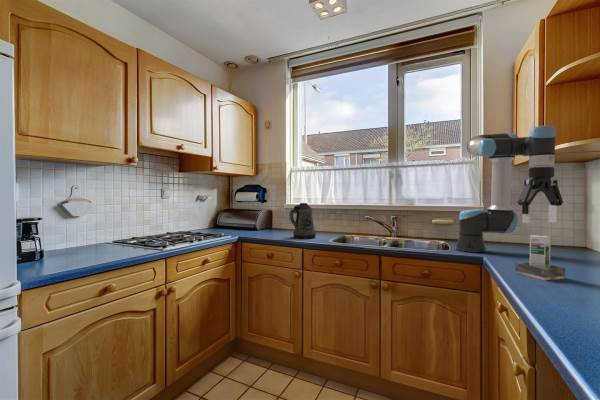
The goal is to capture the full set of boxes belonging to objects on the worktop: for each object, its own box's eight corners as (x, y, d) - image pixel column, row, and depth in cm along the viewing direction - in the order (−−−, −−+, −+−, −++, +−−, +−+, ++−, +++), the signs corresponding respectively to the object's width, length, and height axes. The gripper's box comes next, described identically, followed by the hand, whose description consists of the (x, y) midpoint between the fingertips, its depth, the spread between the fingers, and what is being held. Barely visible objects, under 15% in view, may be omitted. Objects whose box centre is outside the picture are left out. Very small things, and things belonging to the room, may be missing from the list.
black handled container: (319, 237, 211) (320, 203, 211) (306, 240, 194) (306, 203, 194) (300, 235, 220) (301, 202, 219) (286, 238, 203) (286, 203, 203)
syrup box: (528, 272, 110) (529, 235, 110) (531, 270, 114) (532, 234, 114) (548, 275, 106) (549, 236, 106) (550, 273, 110) (551, 235, 110)
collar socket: (535, 271, 117) (535, 261, 117) (565, 278, 106) (565, 267, 106) (515, 272, 114) (515, 262, 114) (544, 280, 104) (544, 269, 104)
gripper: (526, 165, 103) (525, 224, 103) (576, 167, 109) (574, 222, 110) (506, 167, 110) (505, 222, 111) (554, 168, 117) (552, 220, 117)
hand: (540, 222), depth 110 cm, fingers open, 13 cm apart
